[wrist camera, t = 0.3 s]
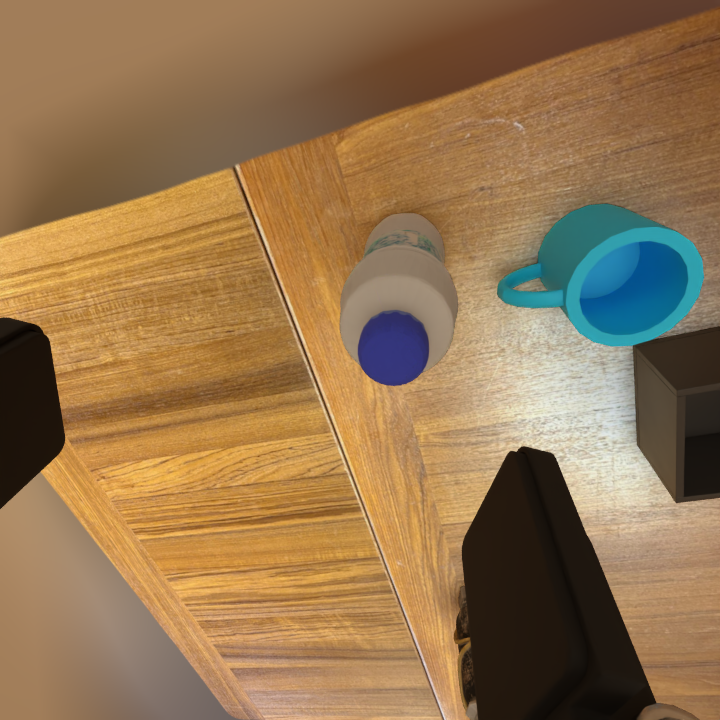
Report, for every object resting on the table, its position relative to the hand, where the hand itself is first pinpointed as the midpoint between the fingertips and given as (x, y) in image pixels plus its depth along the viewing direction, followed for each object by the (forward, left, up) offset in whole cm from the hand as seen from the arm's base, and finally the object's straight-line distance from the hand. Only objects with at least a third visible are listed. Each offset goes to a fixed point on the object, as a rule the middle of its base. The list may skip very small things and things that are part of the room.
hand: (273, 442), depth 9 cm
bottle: (+3, +3, -31) cm, 31 cm away
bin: (+9, +33, -30) cm, 45 cm away
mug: (+1, +16, -31) cm, 34 cm away
